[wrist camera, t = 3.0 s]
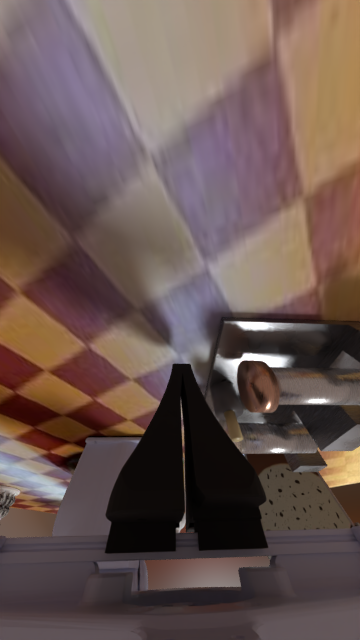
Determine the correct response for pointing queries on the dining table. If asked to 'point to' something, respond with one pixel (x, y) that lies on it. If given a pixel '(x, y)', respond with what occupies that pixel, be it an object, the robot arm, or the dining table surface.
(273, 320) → the mount
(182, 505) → the robot arm
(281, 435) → the silver long cylinder
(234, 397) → the potentiometer
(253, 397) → the copper-capped metal rod
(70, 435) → the dining table surface
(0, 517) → the decorative candle
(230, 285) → the dining table surface
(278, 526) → the food container
